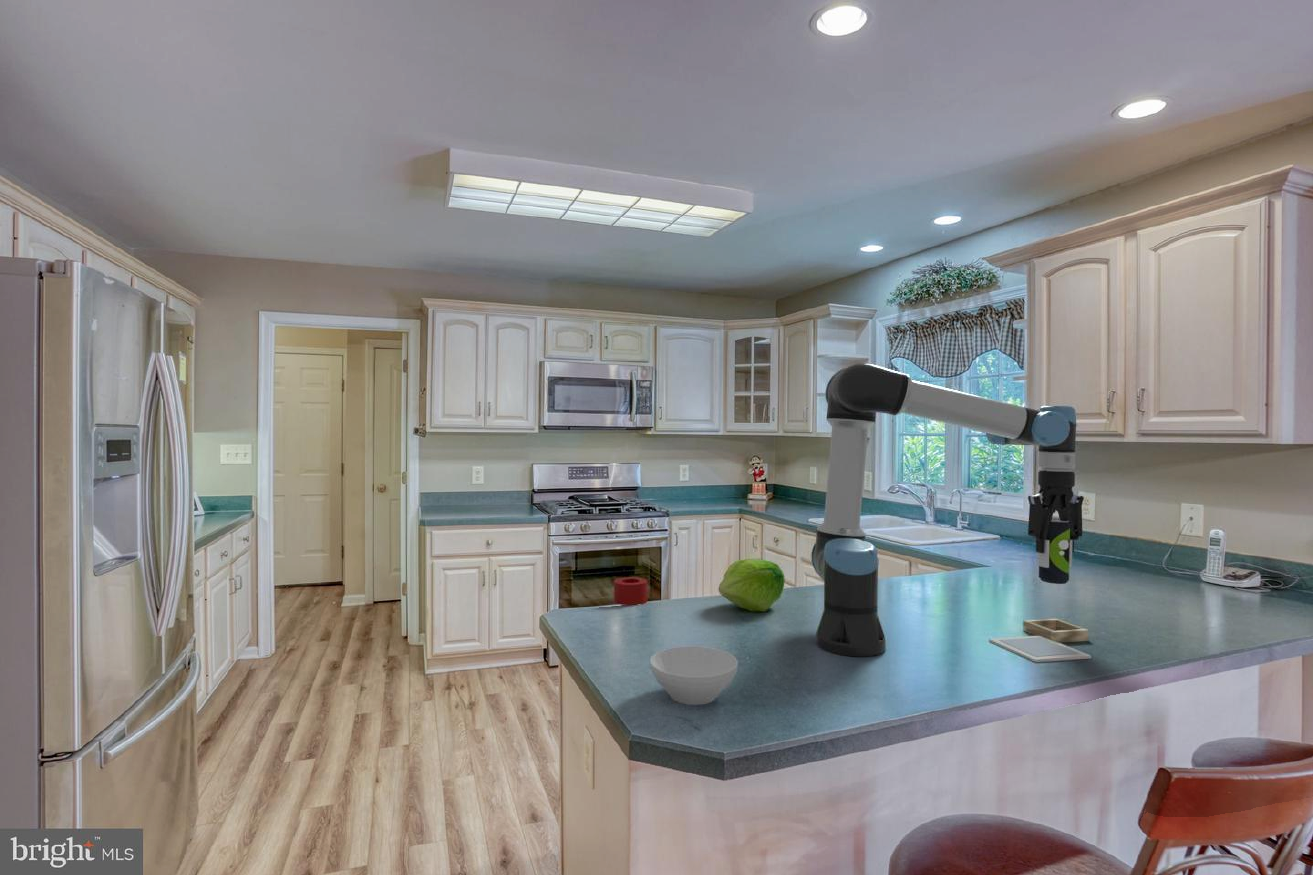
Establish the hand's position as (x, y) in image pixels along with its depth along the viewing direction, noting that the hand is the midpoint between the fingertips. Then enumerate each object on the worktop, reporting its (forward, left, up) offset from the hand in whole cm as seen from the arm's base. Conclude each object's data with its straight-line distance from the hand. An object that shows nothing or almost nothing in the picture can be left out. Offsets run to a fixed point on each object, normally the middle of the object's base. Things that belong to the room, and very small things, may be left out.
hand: (1054, 565), depth 153 cm
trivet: (-12, -8, -17) cm, 22 cm away
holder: (0, 0, -17) cm, 17 cm away
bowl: (-95, -20, -17) cm, 98 cm away
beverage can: (0, 0, -4) cm, 4 cm away
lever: (-95, +50, -17) cm, 109 cm away
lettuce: (-64, +35, -17) cm, 75 cm away
